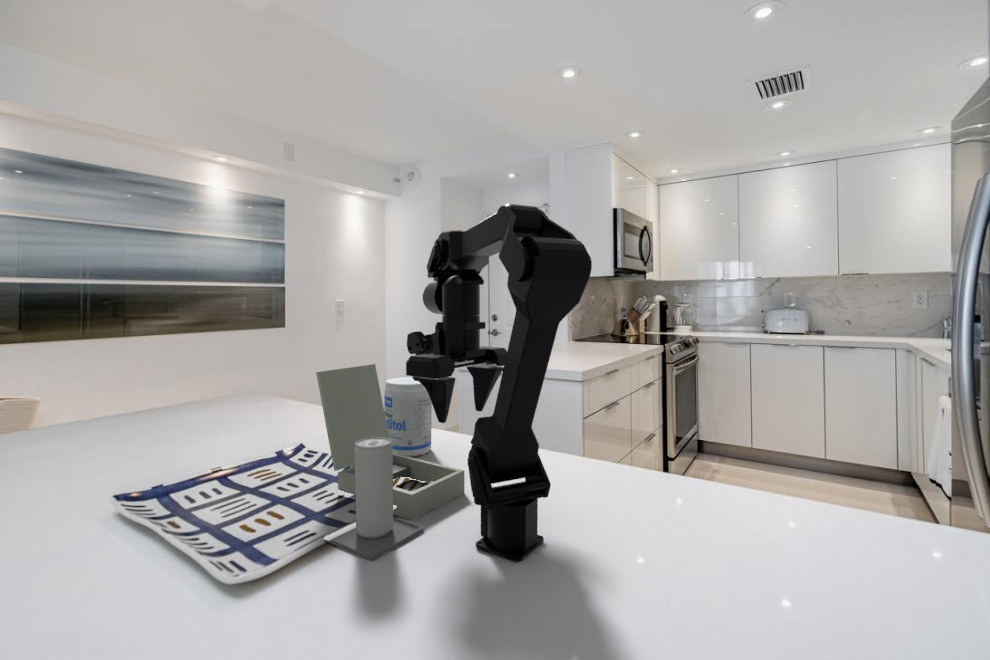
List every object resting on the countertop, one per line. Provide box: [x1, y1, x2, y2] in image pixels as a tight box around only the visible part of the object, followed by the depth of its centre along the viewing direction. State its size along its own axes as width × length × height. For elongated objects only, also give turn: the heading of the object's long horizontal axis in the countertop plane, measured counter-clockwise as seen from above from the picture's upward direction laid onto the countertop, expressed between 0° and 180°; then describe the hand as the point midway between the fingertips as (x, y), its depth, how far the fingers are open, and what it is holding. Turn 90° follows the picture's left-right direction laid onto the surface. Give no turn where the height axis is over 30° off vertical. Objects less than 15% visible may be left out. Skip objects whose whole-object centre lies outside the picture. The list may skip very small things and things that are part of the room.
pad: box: [328, 516, 424, 562], centre depth 64 cm, size 9×9×1 cm
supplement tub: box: [383, 376, 433, 458], centre depth 100 cm, size 10×10×15 cm
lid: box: [316, 363, 390, 472], centre depth 83 cm, size 16×12×1 cm
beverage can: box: [354, 437, 394, 539], centre depth 64 cm, size 5×5×12 cm
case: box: [337, 453, 465, 521], centre depth 78 cm, size 16×12×4 cm
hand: (461, 416), depth 75 cm, fingers open, 9 cm apart
